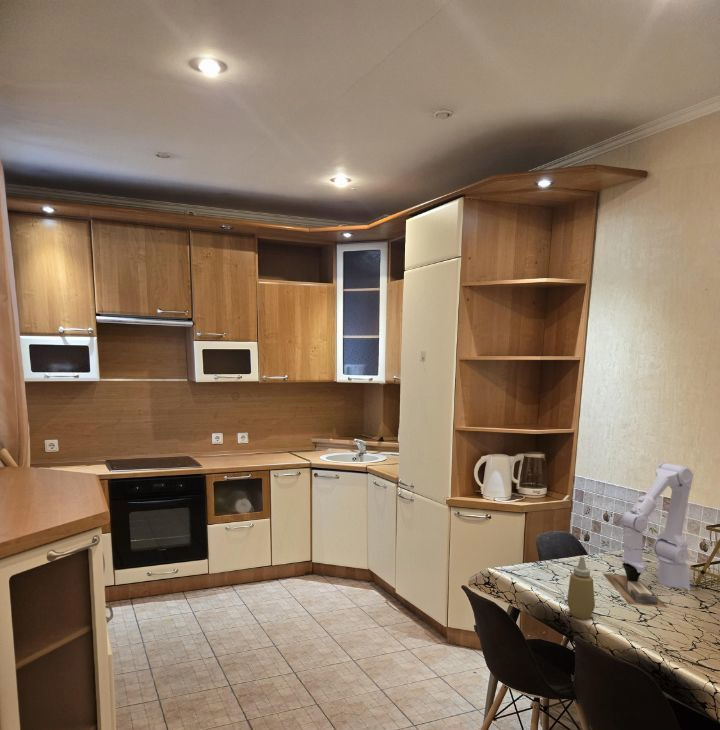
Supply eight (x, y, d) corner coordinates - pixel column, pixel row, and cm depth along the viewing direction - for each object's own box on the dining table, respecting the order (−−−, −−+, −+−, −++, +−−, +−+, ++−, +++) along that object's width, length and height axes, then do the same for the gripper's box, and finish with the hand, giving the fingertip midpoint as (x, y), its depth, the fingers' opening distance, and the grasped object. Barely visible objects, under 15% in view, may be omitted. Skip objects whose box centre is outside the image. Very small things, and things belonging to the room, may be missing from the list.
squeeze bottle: (560, 611, 161) (562, 554, 162) (579, 607, 165) (581, 551, 165) (581, 623, 154) (582, 563, 154) (600, 619, 157) (602, 560, 158)
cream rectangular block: (639, 590, 178) (639, 582, 178) (652, 603, 168) (652, 594, 168) (627, 589, 179) (627, 580, 179) (639, 602, 169) (639, 592, 169)
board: (635, 578, 191) (636, 569, 191) (668, 610, 165) (668, 599, 165) (602, 575, 193) (602, 567, 193) (629, 606, 167) (629, 596, 167)
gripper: (613, 539, 187) (612, 576, 187) (629, 553, 173) (628, 593, 173) (634, 541, 186) (633, 578, 186) (651, 554, 172) (650, 595, 172)
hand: (632, 585), depth 179 cm, fingers closed
